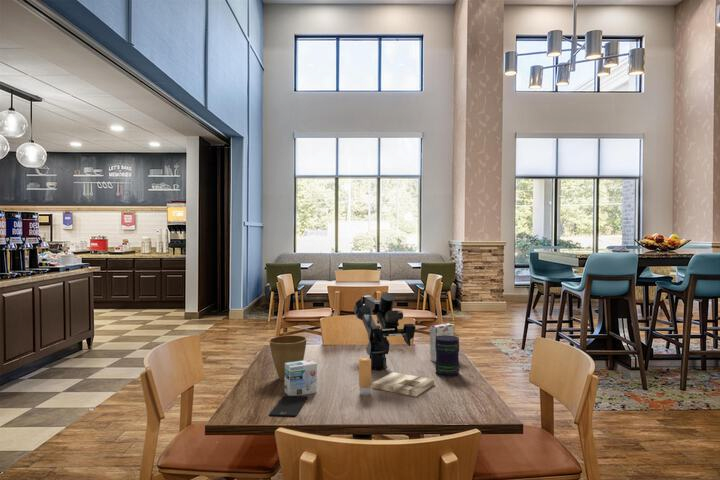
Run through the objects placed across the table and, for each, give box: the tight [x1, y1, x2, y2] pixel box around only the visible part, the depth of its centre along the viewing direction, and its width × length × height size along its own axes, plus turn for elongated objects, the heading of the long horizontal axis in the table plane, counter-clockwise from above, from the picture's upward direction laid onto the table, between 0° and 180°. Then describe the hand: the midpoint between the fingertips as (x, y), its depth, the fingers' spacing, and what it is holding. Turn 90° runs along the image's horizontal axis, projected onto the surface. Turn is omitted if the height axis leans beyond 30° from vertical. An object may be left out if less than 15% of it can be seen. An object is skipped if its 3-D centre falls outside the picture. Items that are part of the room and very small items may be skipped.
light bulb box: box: [284, 359, 318, 396], centre depth 168 cm, size 11×7×11 cm, turn 118°
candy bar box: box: [429, 322, 455, 363], centre depth 211 cm, size 11×5×16 cm, turn 120°
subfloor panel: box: [372, 371, 435, 397], centre depth 174 cm, size 18×16×2 cm
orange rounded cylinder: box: [358, 357, 372, 397], centre depth 166 cm, size 4×4×12 cm
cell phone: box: [268, 394, 309, 418], centre depth 154 cm, size 9×18×1 cm, turn 174°
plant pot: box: [268, 334, 307, 382], centre depth 184 cm, size 15×15×16 cm
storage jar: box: [434, 335, 460, 378], centre depth 190 cm, size 10×10×15 cm
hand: (398, 346), depth 174 cm, fingers open, 9 cm apart
